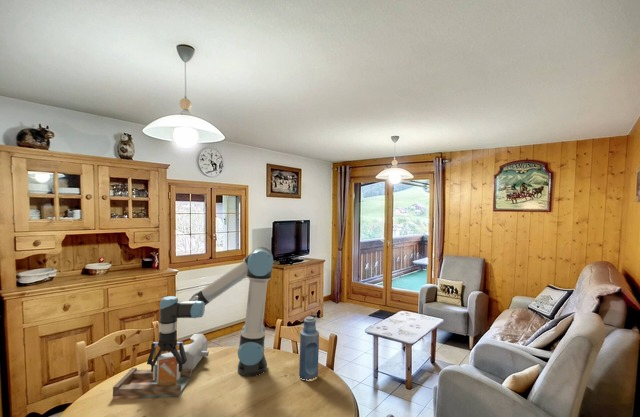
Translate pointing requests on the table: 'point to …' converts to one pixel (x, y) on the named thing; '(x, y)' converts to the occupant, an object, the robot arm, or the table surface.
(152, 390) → the board
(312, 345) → the bottle
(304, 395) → the table surface
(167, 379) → the small box
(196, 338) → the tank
